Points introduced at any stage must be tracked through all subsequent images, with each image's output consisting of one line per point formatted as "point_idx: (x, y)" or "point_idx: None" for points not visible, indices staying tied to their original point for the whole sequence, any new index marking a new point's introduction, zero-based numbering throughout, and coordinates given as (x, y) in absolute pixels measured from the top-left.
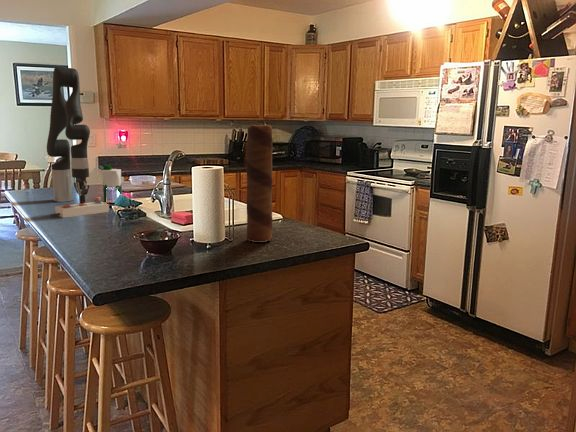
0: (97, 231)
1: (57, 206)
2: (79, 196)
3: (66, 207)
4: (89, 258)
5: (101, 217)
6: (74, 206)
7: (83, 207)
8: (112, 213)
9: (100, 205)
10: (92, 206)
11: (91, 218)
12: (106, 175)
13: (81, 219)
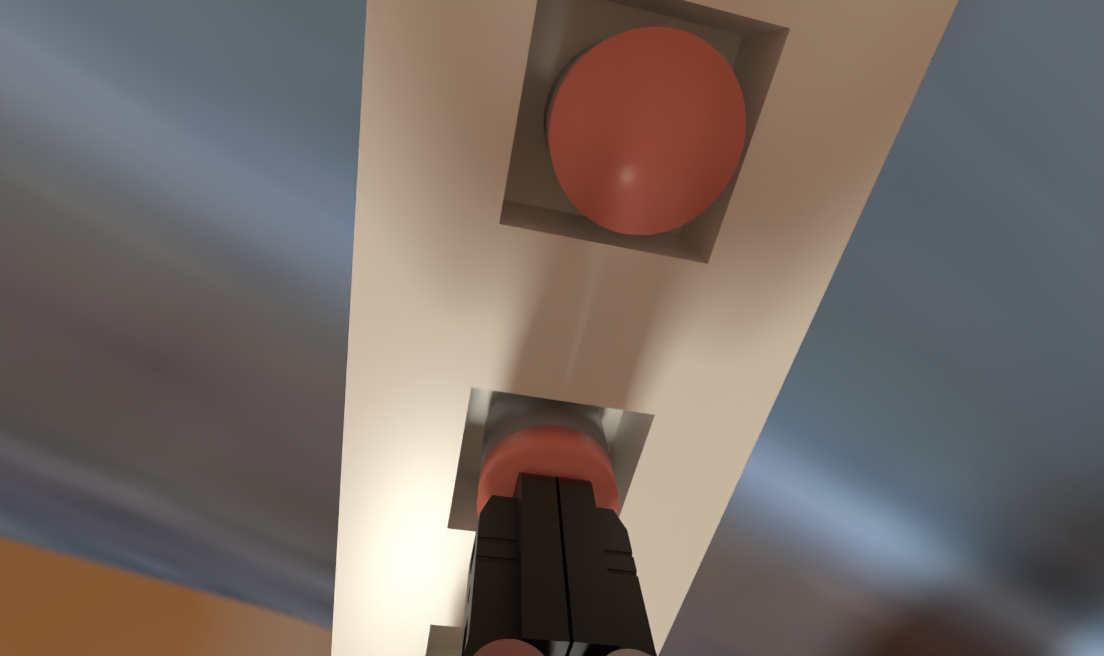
0: None
1: (916, 4)
2: (592, 619)
3: (563, 74)
4: None
5: (14, 379)
6: (540, 297)
7: (349, 383)
8: (232, 593)
9: (334, 637)
10: (339, 531)
11: (11, 233)
12: None
13: (7, 48)
